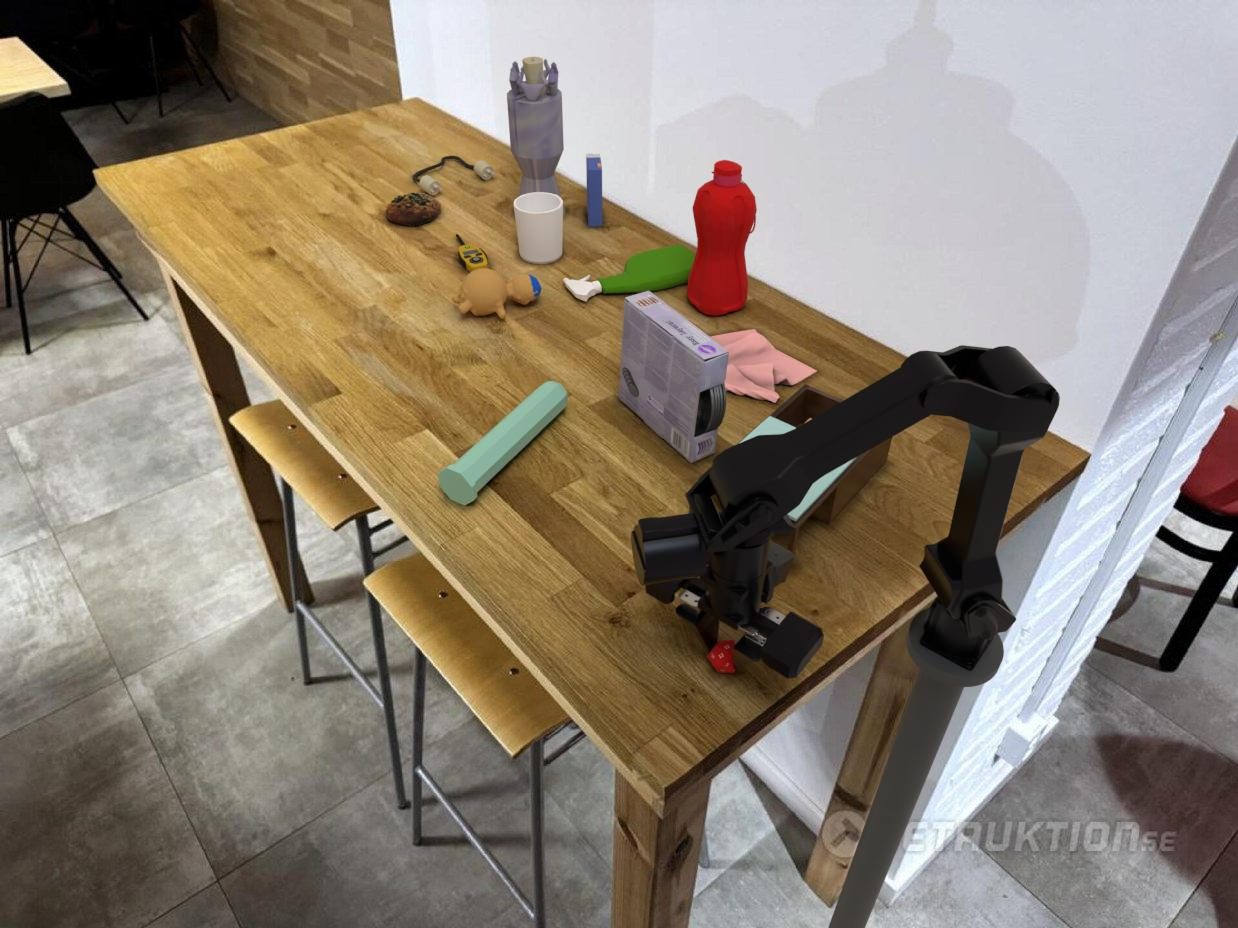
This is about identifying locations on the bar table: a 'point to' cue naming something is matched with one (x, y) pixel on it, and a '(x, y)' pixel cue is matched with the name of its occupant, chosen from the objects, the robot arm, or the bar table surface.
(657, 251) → the spray bottle
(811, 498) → the light blue box top
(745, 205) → the water bottle
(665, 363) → the cake pan box
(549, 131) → the decorative object
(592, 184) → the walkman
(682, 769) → the bar table surface
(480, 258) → the yellow walkie talkie
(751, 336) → the cloth
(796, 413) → the display box
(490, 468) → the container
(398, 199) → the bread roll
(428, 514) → the bar table surface
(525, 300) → the toy
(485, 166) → the cable
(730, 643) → the die
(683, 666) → the bar table surface
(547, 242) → the mug
